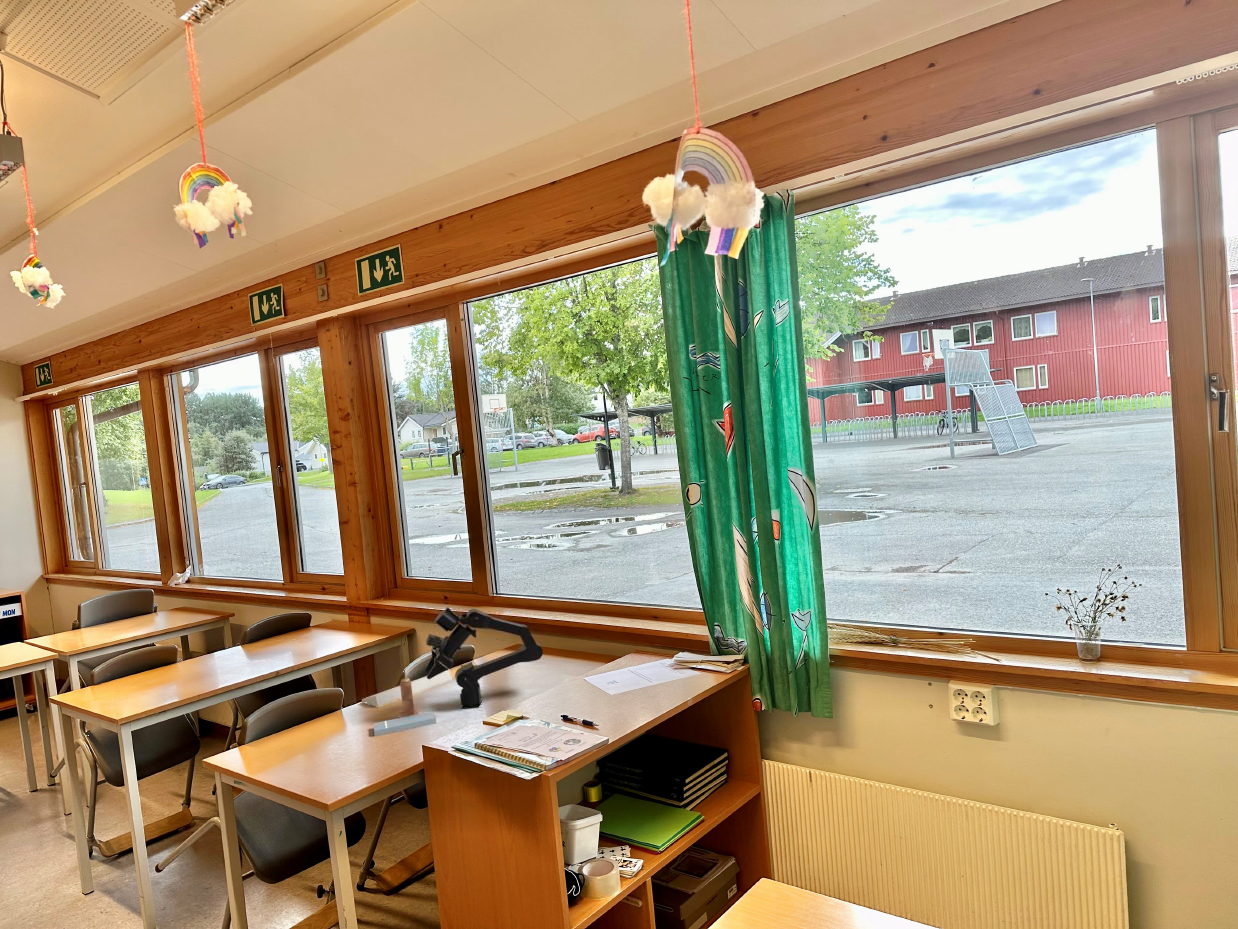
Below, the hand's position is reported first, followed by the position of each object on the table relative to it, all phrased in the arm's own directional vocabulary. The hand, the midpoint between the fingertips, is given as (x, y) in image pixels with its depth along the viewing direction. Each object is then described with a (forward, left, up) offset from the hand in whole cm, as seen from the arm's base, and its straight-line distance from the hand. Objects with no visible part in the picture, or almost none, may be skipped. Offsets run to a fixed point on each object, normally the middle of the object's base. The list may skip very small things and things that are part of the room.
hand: (426, 675), depth 270 cm
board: (+6, +10, -14) cm, 18 cm away
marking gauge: (+7, +3, -14) cm, 16 cm away
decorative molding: (+16, -29, -15) cm, 36 cm away
